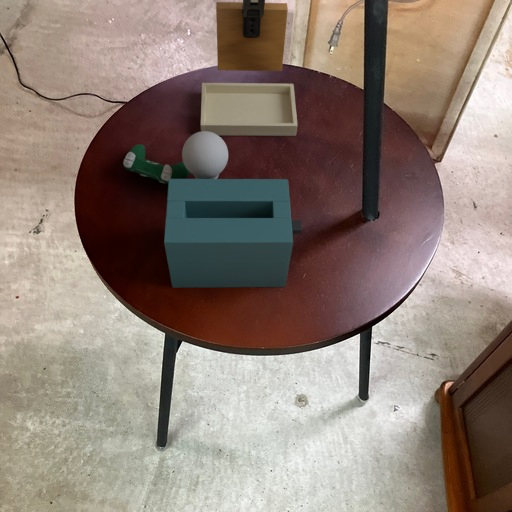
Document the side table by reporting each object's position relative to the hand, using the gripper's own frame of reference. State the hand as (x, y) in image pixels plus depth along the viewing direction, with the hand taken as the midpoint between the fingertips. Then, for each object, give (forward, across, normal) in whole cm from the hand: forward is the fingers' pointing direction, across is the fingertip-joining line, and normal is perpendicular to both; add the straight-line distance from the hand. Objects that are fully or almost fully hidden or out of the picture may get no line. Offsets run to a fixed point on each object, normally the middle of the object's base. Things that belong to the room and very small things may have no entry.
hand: (251, 31), depth 72 cm
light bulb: (+15, +15, -6) cm, 22 cm away
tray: (+14, 0, 0) cm, 14 cm away
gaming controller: (+15, +12, -13) cm, 23 cm away
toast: (+6, 0, 0) cm, 6 cm away
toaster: (+14, +26, -3) cm, 30 cm away
